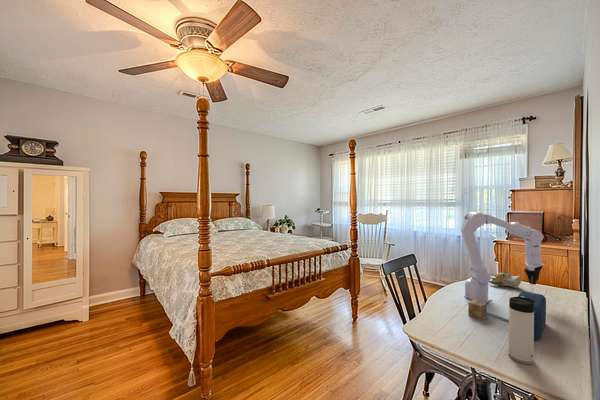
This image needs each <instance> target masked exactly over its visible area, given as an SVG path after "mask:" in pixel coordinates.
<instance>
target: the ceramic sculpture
mask: <svg viewBox="0 0 600 400" xmlns="http://www.w3.org/2000/svg"><path fill="white" fill-rule="evenodd" d="M490 277H491V276H490ZM522 277H523V276H522V275H512V274H511V272H508V271H504V272H498V273H496V275H495V277H491V279H490V281H489V282H488V284H489V283H490V284H492V285H495V286H502V287H512V288H514V289H518V288H519V286H520V284H522Z"/></svg>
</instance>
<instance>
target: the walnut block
mask: <svg viewBox="0 0 600 400" xmlns="http://www.w3.org/2000/svg"><path fill="white" fill-rule="evenodd" d="M467 304H468V317H471V318H475V319H476V320H479V321H481V320H482V321H483V319H485V318H487V316H488V315H487V304H488V302H487V303H484V302H480V301H477V300H472V299H471V300H470V301H468V302H467Z"/></svg>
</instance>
